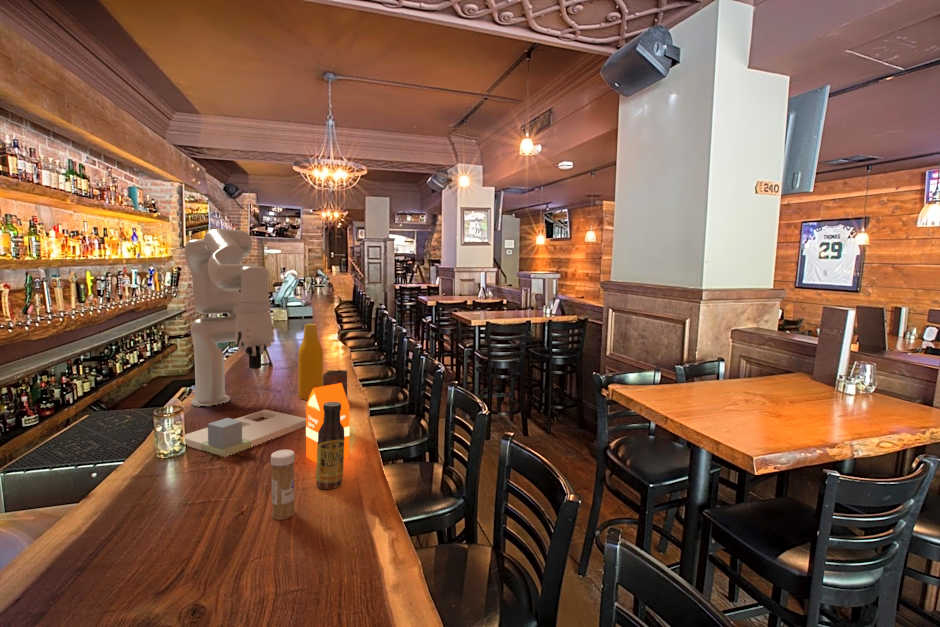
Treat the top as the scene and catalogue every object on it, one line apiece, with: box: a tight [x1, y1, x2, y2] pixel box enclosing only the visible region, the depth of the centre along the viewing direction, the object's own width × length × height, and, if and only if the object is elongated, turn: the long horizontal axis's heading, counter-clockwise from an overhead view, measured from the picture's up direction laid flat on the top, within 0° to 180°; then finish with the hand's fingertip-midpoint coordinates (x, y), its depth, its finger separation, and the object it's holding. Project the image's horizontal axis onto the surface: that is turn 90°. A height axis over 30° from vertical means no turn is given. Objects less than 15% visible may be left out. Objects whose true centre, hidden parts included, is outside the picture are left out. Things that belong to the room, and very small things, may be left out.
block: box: [207, 417, 242, 449], centre depth 129 cm, size 6×6×6 cm
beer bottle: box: [297, 323, 324, 401], centre depth 181 cm, size 9×9×29 cm
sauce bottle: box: [315, 402, 345, 490], centre depth 110 cm, size 6×6×20 cm
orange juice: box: [305, 383, 351, 464], centre depth 126 cm, size 8×9×20 cm
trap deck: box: [184, 408, 306, 458], centre depth 142 cm, size 20×30×2 cm, turn 154°
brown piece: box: [323, 369, 348, 399], centre depth 143 cm, size 8×7×20 cm
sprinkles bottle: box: [270, 449, 296, 521], centre depth 96 cm, size 5×5×13 cm
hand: (255, 367), depth 140 cm, fingers closed
